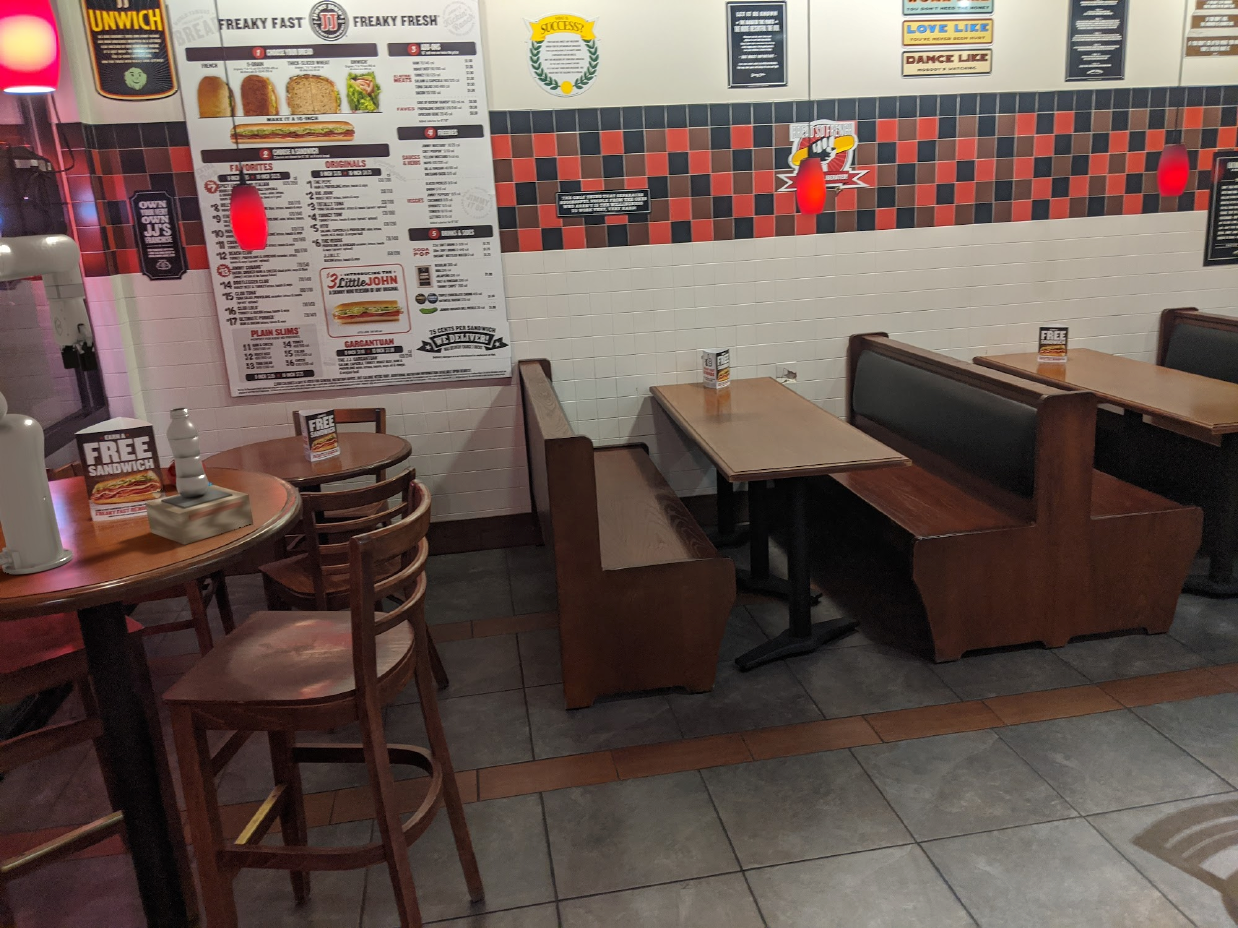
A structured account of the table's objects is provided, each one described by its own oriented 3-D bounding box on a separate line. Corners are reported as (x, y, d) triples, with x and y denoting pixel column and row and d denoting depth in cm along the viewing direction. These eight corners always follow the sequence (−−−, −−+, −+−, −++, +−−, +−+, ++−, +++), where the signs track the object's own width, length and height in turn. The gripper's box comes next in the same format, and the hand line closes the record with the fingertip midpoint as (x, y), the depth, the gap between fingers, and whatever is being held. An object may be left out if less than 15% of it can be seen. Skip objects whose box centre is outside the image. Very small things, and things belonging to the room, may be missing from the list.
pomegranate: (204, 477, 255) (199, 445, 253) (210, 484, 247) (205, 450, 245) (165, 483, 250) (160, 450, 248) (170, 490, 242) (165, 456, 240)
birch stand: (185, 544, 198) (179, 512, 196) (150, 532, 208) (144, 501, 206) (254, 524, 209) (249, 492, 208) (218, 513, 220) (213, 483, 218)
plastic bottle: (202, 499, 205) (187, 411, 199) (172, 500, 205) (156, 413, 200) (215, 491, 211) (200, 405, 206) (186, 492, 211) (170, 407, 206)
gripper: (32, 294, 207) (48, 370, 212) (62, 295, 196) (78, 374, 201) (67, 291, 213) (83, 365, 217) (99, 291, 202) (114, 369, 206)
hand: (81, 369), depth 209 cm, fingers open, 9 cm apart
